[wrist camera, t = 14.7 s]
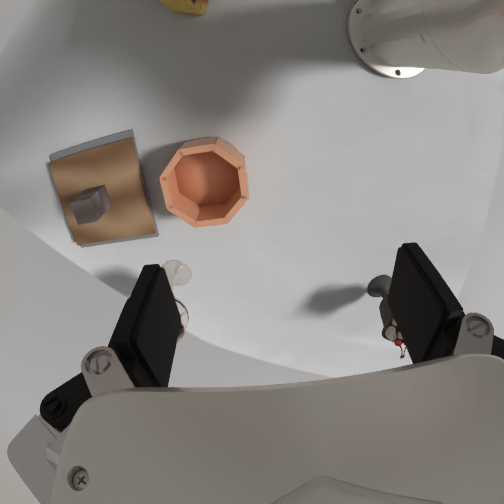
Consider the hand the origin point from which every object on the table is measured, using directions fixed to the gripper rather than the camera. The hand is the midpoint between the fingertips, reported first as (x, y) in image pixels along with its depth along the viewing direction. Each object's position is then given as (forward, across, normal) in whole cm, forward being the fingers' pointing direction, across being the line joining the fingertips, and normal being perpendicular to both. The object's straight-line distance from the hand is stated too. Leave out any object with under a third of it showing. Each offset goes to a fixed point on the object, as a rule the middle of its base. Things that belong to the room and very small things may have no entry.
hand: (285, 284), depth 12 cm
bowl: (+29, +7, +5) cm, 30 cm away
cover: (+28, +23, +5) cm, 37 cm away
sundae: (+29, -19, +27) cm, 44 cm away
